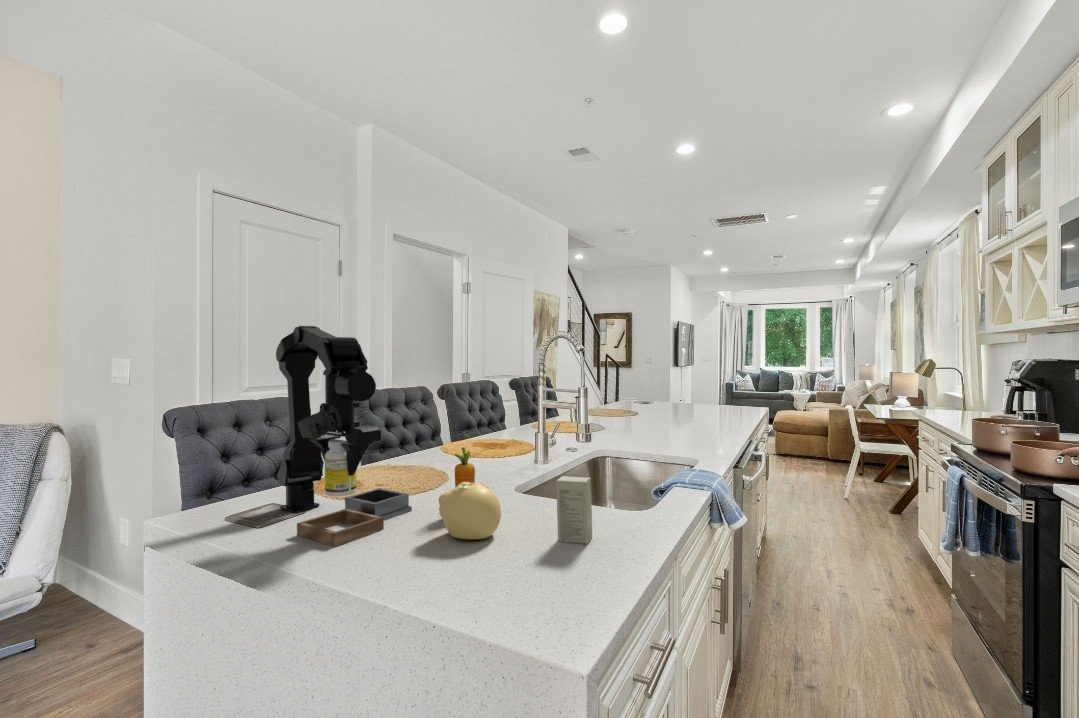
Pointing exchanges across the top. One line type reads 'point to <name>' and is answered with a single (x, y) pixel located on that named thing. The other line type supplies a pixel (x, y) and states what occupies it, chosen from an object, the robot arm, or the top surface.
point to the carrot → (464, 469)
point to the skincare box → (574, 509)
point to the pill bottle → (338, 470)
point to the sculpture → (470, 511)
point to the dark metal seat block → (379, 503)
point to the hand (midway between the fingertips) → (340, 473)
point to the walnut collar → (364, 527)
